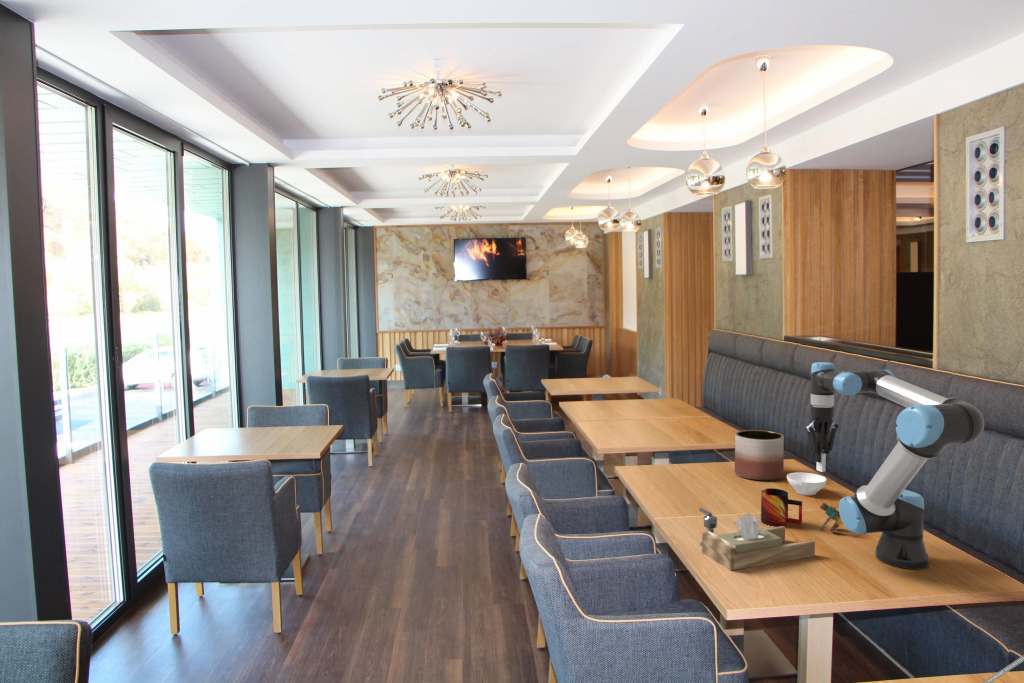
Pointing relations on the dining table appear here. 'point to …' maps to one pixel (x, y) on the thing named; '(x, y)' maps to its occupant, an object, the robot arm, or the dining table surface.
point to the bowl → (806, 482)
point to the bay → (754, 551)
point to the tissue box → (751, 536)
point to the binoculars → (831, 516)
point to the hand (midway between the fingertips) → (820, 470)
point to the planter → (759, 455)
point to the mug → (777, 508)
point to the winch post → (709, 521)
